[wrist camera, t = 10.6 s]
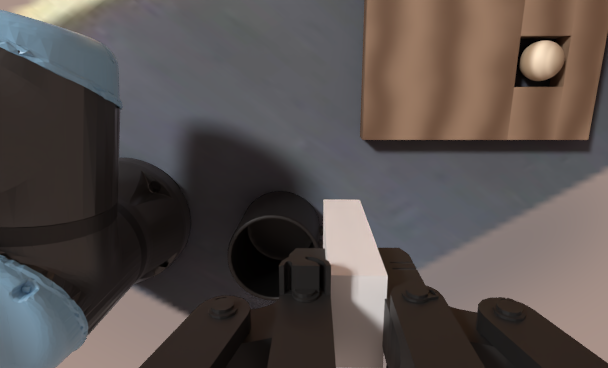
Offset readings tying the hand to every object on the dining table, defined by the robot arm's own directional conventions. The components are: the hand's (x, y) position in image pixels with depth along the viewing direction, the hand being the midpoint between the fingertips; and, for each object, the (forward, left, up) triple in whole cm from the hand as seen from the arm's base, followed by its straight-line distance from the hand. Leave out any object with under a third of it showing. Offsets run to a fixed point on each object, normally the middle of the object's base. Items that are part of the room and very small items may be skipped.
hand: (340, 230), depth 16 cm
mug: (-4, -11, -30) cm, 32 cm away
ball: (+22, +8, -27) cm, 36 cm away
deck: (+16, +8, -29) cm, 34 cm away
